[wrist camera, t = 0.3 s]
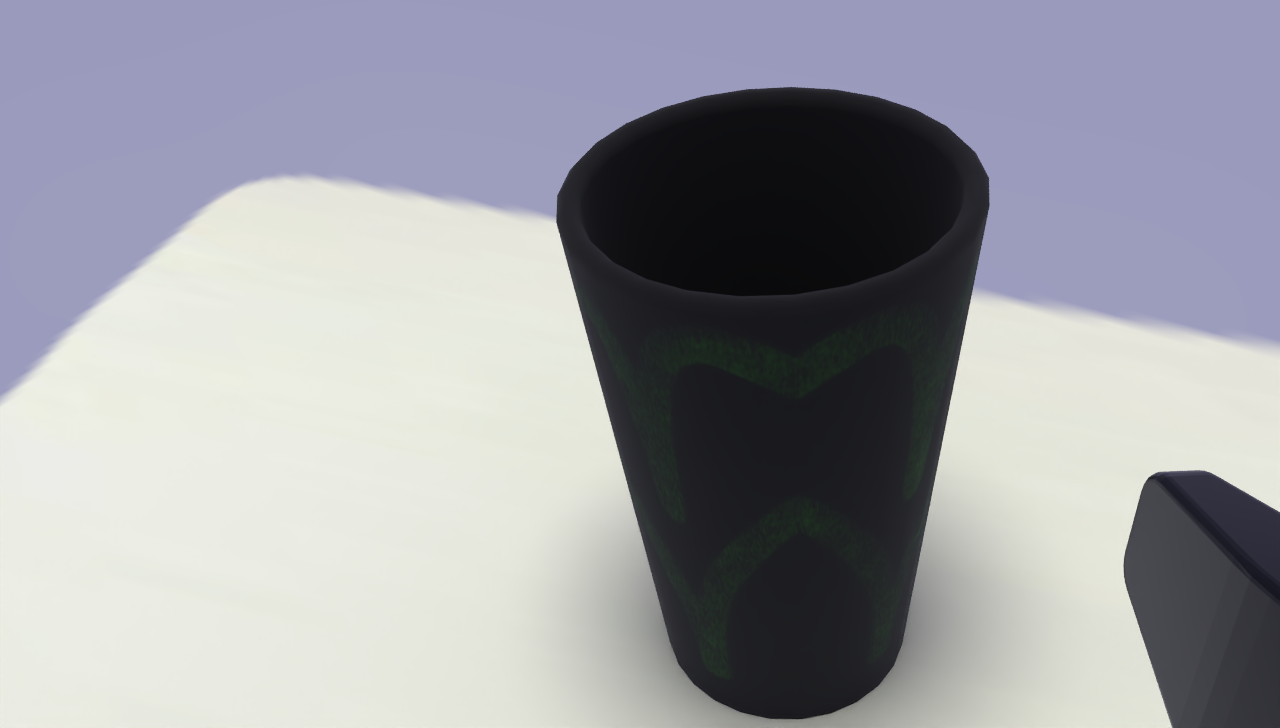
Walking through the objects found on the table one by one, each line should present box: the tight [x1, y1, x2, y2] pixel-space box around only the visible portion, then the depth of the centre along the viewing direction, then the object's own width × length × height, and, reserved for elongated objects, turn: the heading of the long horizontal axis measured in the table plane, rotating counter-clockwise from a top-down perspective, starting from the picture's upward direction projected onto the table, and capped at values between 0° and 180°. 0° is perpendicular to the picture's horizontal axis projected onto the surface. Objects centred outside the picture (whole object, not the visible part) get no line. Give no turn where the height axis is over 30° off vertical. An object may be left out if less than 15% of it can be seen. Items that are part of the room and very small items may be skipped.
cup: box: [556, 87, 989, 719], centre depth 26 cm, size 8×8×12 cm
